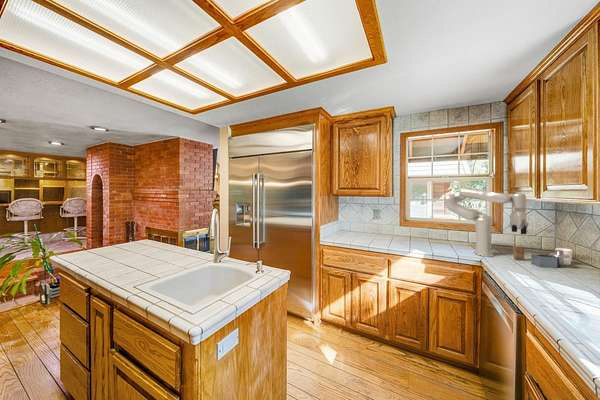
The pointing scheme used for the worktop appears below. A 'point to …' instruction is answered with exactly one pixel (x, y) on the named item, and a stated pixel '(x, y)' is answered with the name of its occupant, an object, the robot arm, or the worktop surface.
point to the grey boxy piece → (549, 259)
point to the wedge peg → (518, 253)
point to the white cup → (568, 252)
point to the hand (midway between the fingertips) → (518, 232)
